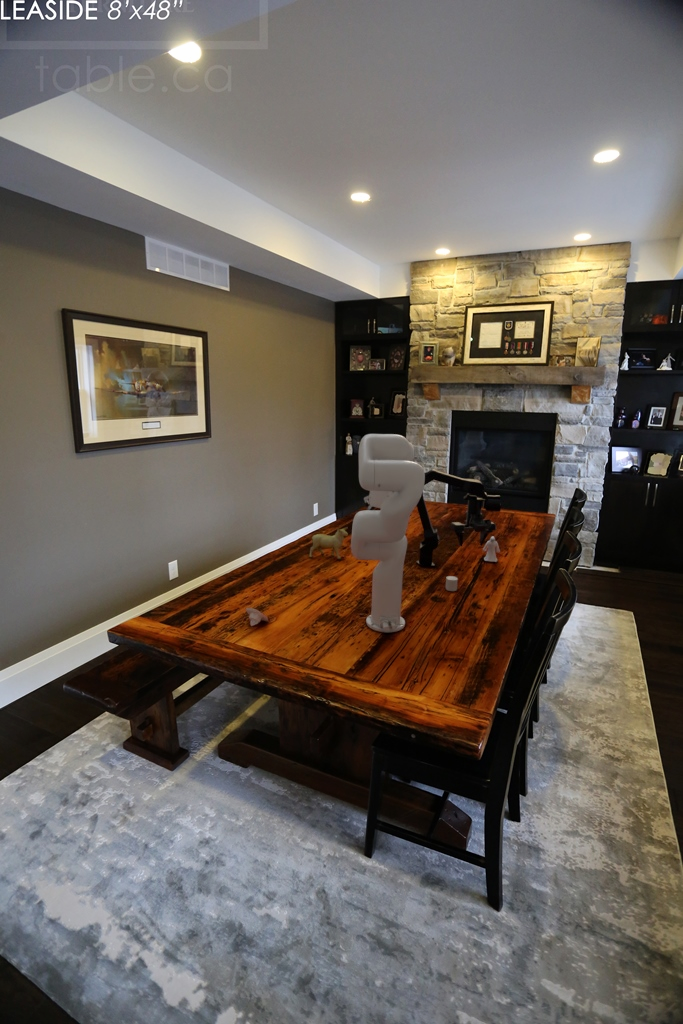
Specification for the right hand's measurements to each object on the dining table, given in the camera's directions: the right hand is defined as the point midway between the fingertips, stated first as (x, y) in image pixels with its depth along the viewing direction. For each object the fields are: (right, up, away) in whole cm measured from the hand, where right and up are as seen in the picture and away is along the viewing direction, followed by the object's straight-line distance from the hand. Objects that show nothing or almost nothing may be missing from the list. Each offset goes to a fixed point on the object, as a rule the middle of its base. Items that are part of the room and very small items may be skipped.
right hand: (471, 545), depth 213 cm
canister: (-13, -15, -21) cm, 29 cm away
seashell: (-83, -22, -52) cm, 100 cm away
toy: (-61, -6, +11) cm, 62 cm away
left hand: (-41, +10, -31) cm, 52 cm away
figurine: (+12, -7, +12) cm, 18 cm away
